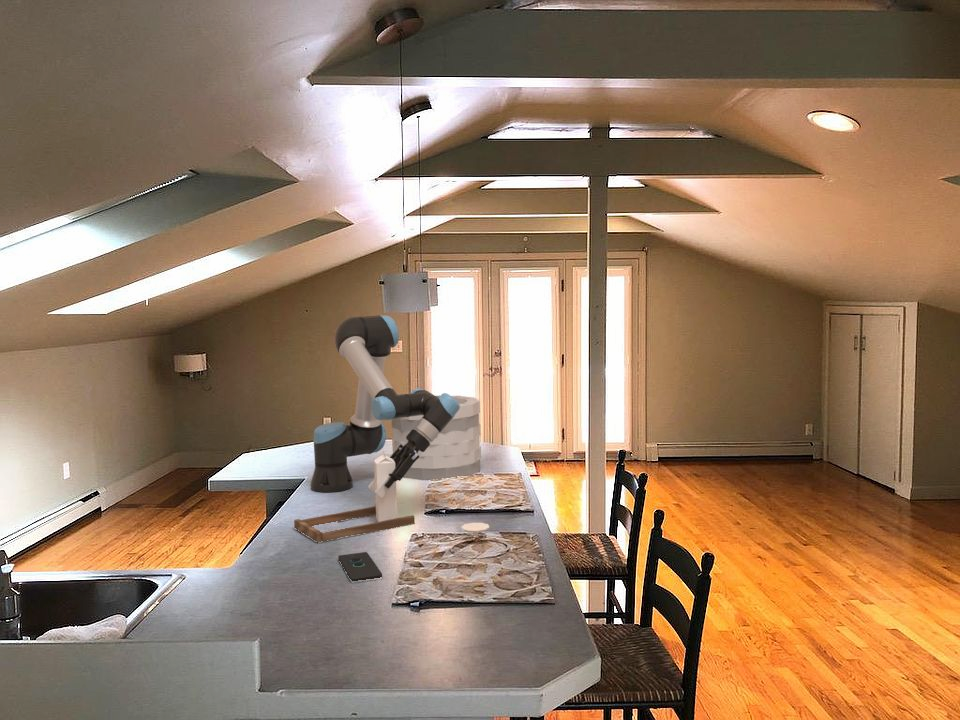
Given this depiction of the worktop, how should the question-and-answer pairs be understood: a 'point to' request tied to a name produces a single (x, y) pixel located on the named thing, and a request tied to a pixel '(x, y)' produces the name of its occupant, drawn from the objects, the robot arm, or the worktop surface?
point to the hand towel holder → (475, 528)
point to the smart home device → (359, 566)
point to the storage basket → (445, 444)
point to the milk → (388, 502)
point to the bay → (318, 536)
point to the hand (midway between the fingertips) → (374, 492)
